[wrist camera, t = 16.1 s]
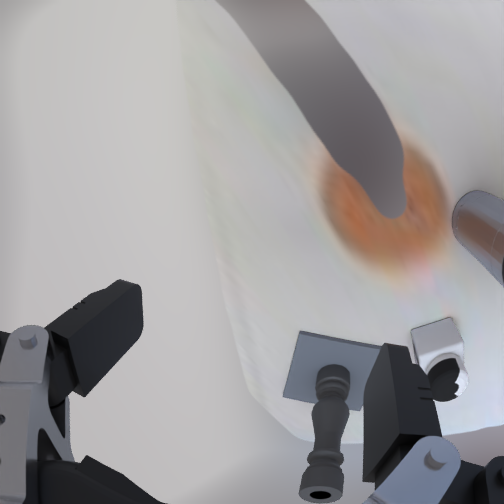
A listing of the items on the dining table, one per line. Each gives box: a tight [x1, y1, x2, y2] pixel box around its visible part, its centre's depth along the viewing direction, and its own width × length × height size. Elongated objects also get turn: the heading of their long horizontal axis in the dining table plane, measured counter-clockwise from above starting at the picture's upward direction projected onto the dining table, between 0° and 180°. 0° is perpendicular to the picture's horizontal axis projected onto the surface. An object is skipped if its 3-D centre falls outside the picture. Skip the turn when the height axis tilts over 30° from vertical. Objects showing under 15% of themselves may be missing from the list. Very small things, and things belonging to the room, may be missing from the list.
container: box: [411, 318, 469, 402], centre depth 42 cm, size 8×8×13 cm
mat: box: [283, 331, 382, 411], centre depth 54 cm, size 16×16×1 cm
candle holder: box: [299, 364, 350, 503], centre depth 42 cm, size 6×6×25 cm
